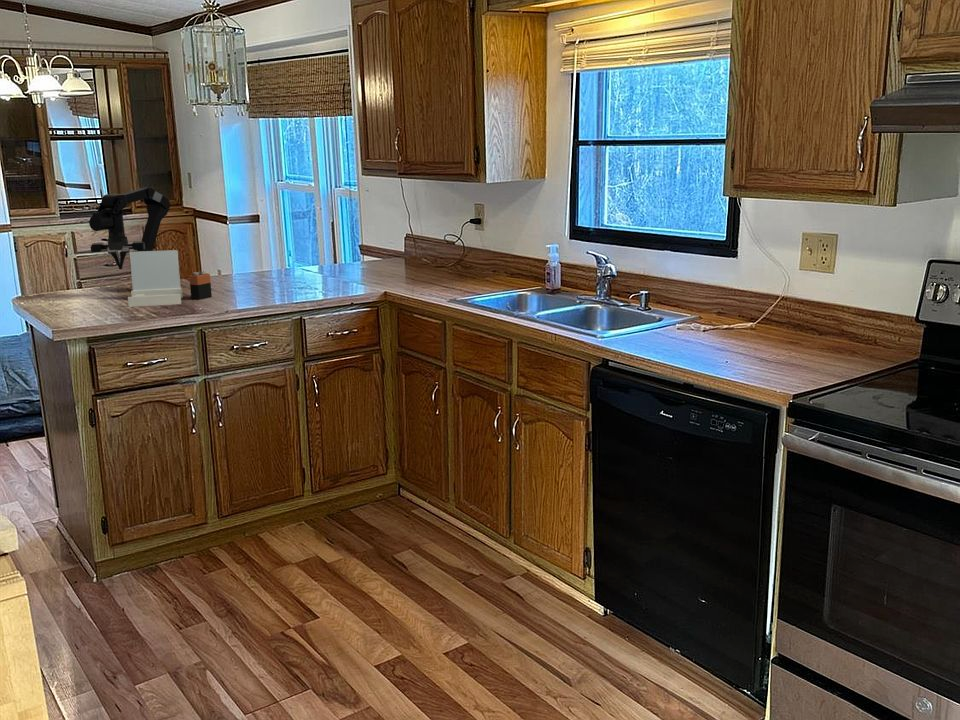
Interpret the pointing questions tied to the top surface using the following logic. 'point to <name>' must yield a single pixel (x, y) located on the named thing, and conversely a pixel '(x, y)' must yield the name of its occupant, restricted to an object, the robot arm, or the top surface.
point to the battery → (200, 285)
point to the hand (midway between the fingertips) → (120, 269)
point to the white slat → (155, 297)
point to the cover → (155, 270)
